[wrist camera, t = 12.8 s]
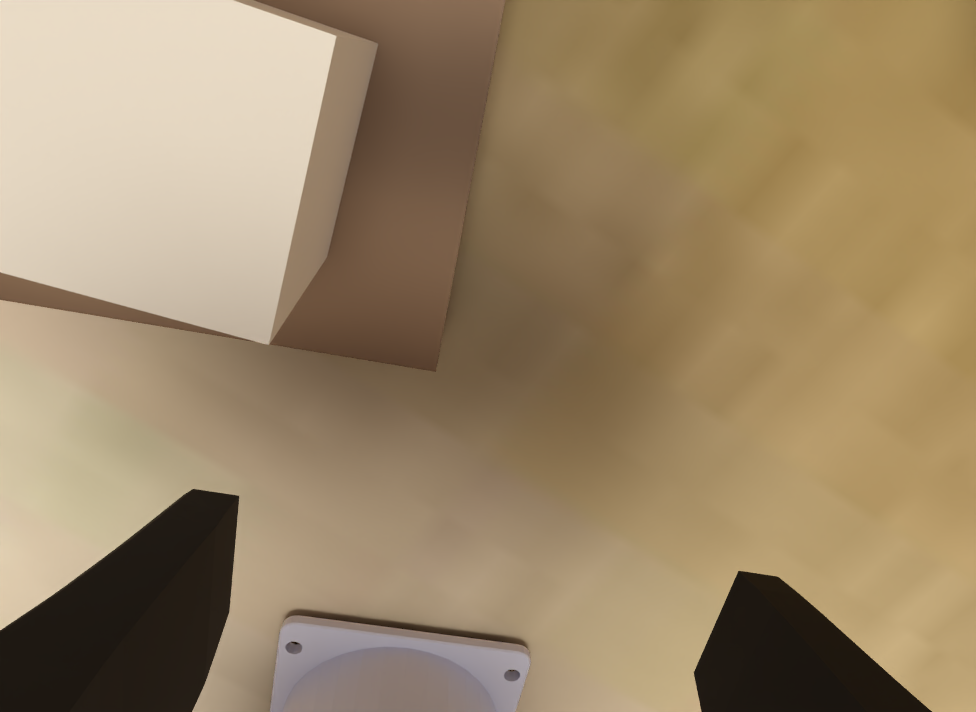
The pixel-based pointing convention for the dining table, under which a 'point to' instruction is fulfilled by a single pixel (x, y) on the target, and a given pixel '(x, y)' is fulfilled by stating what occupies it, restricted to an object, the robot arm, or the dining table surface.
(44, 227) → the white block
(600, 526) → the dining table surface
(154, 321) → the walnut block
